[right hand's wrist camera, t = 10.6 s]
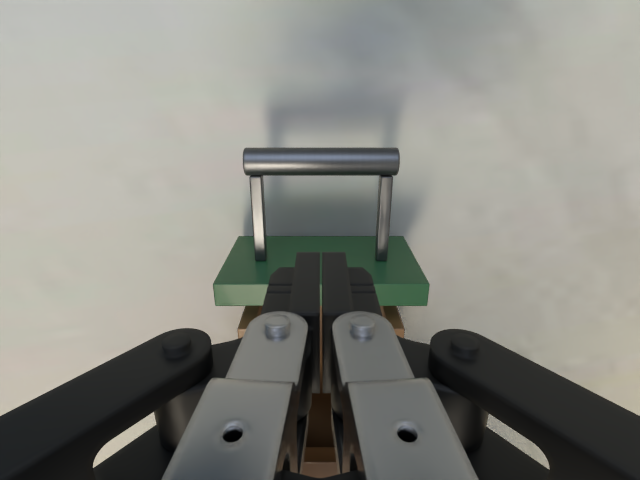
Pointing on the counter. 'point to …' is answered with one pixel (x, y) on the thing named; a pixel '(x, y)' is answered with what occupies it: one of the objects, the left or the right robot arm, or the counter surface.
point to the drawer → (321, 249)
